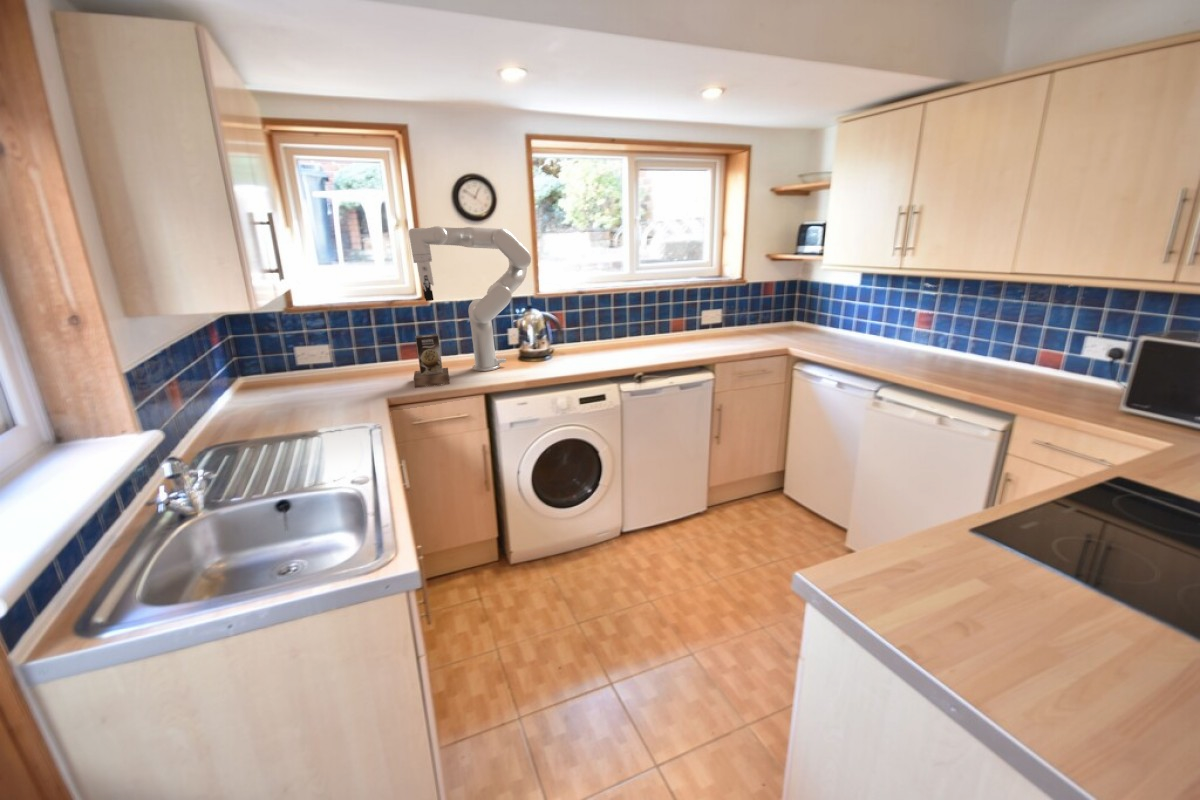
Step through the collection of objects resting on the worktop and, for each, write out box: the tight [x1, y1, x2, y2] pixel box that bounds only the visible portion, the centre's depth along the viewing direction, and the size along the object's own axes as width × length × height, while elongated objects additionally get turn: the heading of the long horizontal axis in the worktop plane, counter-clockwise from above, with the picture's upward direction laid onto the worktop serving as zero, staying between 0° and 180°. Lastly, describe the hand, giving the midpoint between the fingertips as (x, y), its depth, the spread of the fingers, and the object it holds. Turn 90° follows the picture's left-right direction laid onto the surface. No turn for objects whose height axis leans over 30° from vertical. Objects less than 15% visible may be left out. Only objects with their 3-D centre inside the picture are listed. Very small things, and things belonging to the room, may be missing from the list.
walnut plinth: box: [413, 367, 451, 389], centre depth 226 cm, size 14×13×4 cm
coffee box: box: [415, 333, 443, 375], centre depth 223 cm, size 9×6×16 cm
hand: (429, 299), depth 229 cm, fingers open, 9 cm apart
